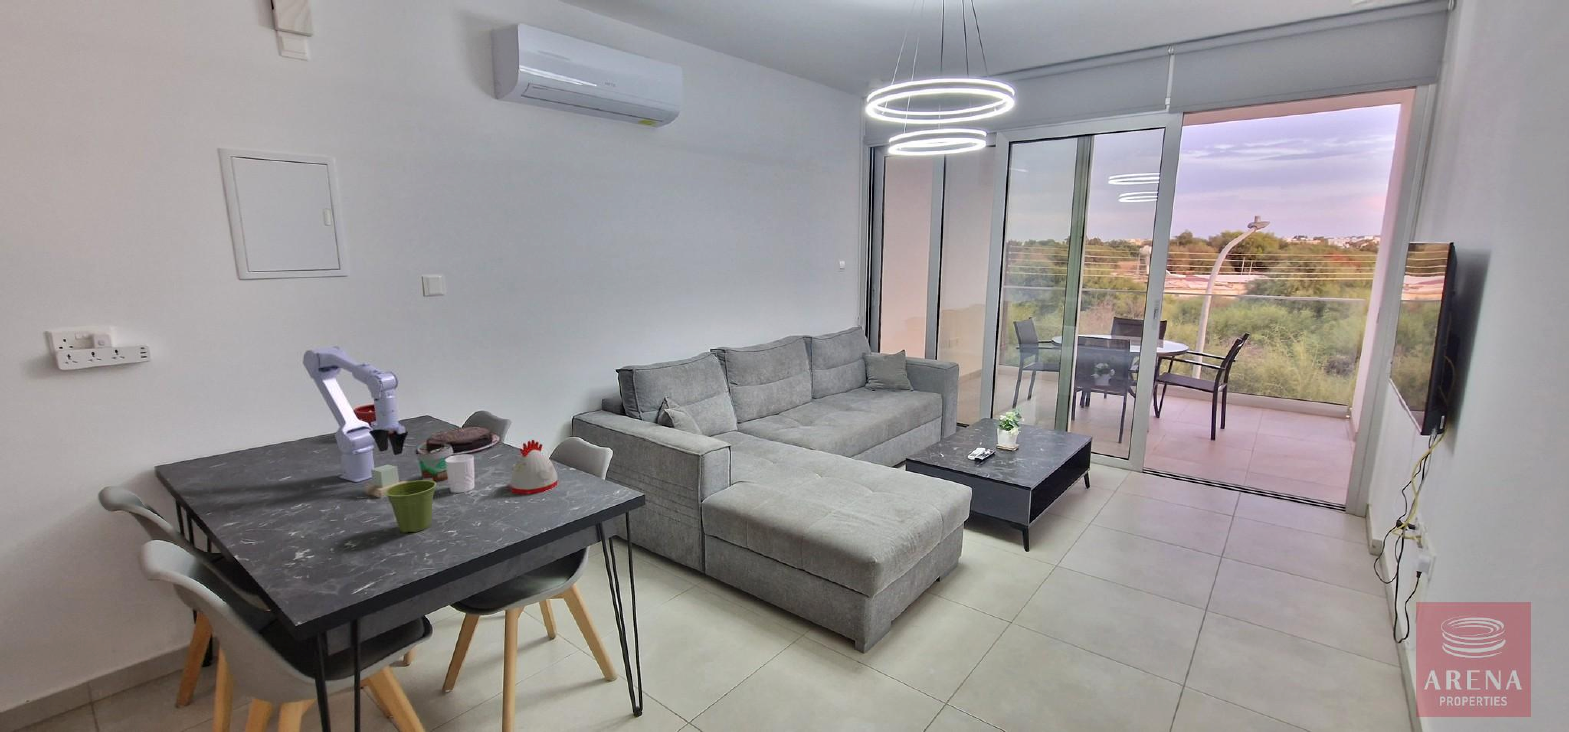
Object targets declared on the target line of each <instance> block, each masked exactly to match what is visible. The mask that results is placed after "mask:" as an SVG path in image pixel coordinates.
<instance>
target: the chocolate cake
mask: <svg viewBox="0 0 1569 732" xmlns="http://www.w3.org/2000/svg"><path fill="white" fill-rule="evenodd" d="M496 443H498V444H499V443H500V436H498V435H496V434H493V433H491V431H490V429H487V428H485V427H482V426H476V427H475V426H471V427H468V426H466V427H462V428H459V427H458V428H456V427H455V428H454V429H446V430H440V431H438V432H437V433H435V434H432V435H431V436H430V437H428V438H427V439H426V442H423V443H422V444H421V445H418V447H417V452H418V453H419V454H426V453H428V452H430V451H431V450H435V449H439V448H441V447H444V444H449V445H450V446H451V447H452V449H453V453H452V454H451V456H455V455H462V454H469V455H471V454H470V453H472V454H476V452H477V453H479V451H481V452H483V451H482V450H485V449H486V450H487V449H490V448H489V447H491V448H493V447H492V446H494V447H495V445H497V444H496ZM486 450H485V451H486Z"/></svg>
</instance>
